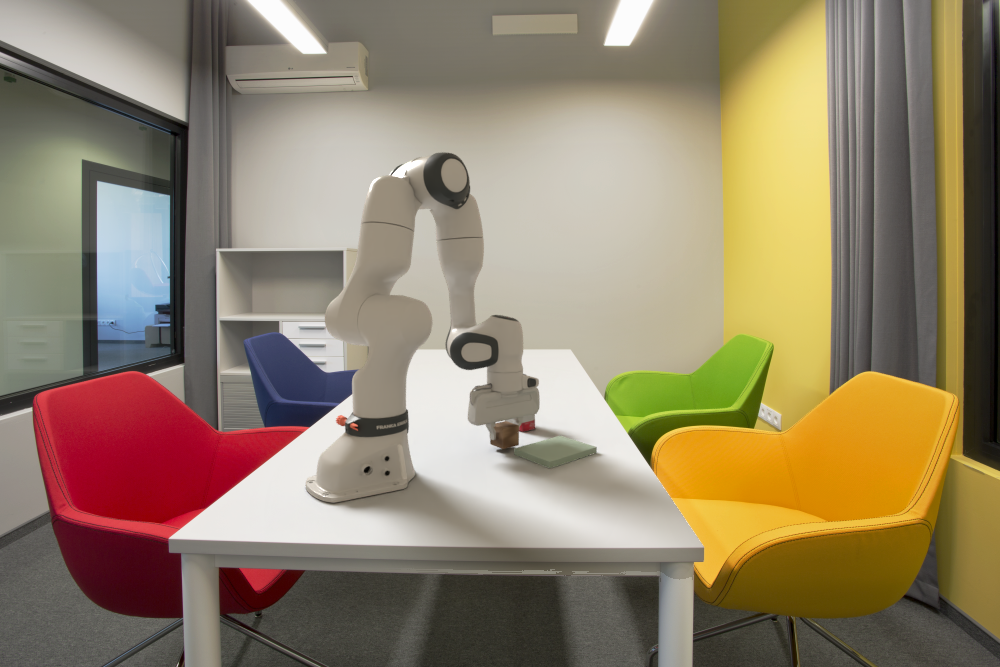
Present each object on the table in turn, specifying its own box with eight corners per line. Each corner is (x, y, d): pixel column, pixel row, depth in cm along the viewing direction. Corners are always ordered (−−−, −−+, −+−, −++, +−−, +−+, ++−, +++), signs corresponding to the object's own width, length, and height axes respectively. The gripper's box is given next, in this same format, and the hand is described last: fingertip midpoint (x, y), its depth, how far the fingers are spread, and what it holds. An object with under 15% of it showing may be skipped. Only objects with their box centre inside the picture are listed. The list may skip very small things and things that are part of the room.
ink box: (535, 429, 150) (536, 388, 149) (521, 432, 147) (521, 390, 146) (517, 422, 157) (517, 382, 156) (503, 425, 154) (503, 384, 153)
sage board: (549, 468, 121) (549, 461, 120) (514, 454, 130) (514, 448, 130) (596, 453, 131) (596, 447, 131) (560, 441, 140) (560, 435, 140)
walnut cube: (502, 449, 130) (503, 428, 129) (490, 444, 134) (490, 424, 133) (518, 445, 133) (519, 425, 132) (505, 440, 137) (506, 421, 136)
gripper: (478, 389, 123) (477, 448, 124) (543, 378, 135) (543, 432, 137) (462, 384, 128) (462, 441, 129) (527, 375, 140) (526, 427, 142)
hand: (504, 436), depth 133 cm, fingers closed on walnut cube, 5 cm apart
